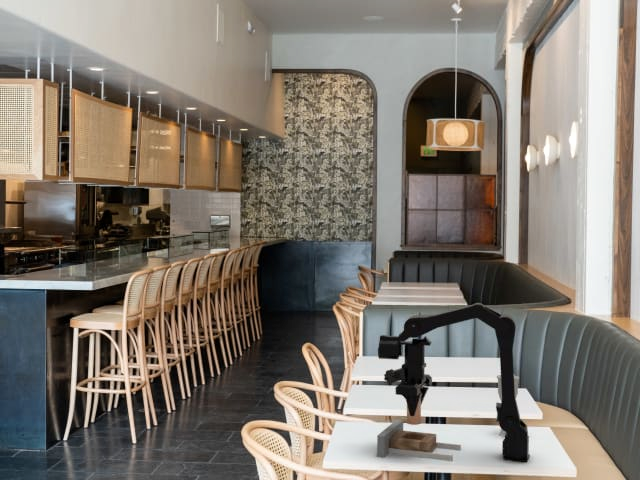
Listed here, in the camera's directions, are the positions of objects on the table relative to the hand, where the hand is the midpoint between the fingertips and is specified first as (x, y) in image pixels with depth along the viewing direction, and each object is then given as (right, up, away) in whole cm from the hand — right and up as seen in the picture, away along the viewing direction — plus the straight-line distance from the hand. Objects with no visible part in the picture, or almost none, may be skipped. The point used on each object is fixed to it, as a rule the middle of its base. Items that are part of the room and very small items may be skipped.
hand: (414, 414), depth 232 cm
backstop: (+2, -11, -1) cm, 11 cm away
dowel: (0, -3, 0) cm, 3 cm away
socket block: (0, -10, 0) cm, 10 cm away
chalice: (+31, -11, +18) cm, 37 cm away
